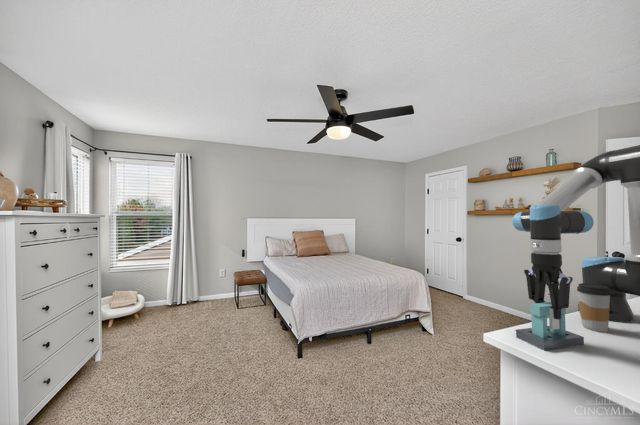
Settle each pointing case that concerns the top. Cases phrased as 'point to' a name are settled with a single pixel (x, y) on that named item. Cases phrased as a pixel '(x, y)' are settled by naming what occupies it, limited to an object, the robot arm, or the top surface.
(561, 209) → the robot arm
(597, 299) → the coffee cup
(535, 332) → the teal u-shaped block
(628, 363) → the top surface
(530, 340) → the grey slotted slab
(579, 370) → the top surface
